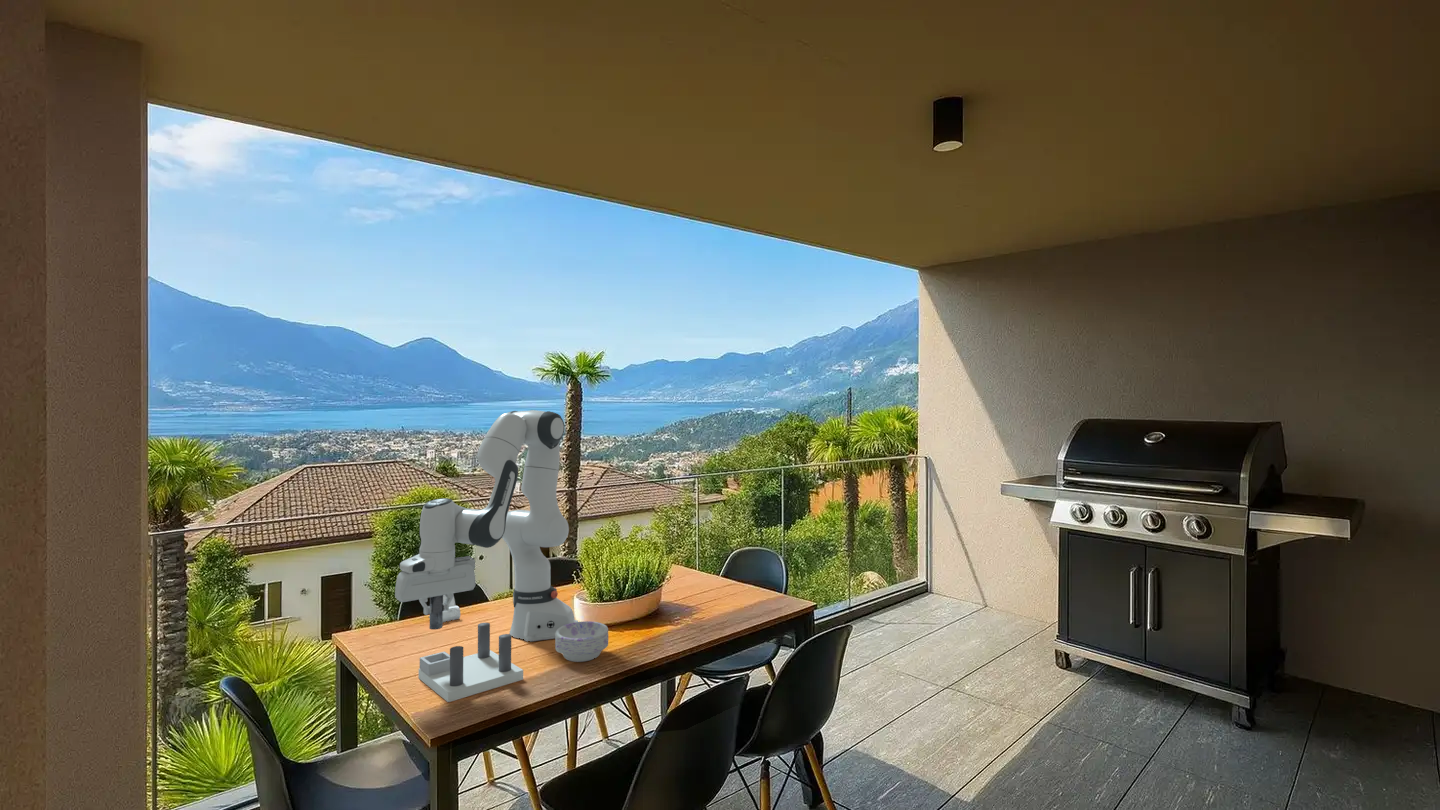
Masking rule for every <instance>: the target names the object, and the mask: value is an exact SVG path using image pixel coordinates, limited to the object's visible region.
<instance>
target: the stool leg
mask: <svg viewBox="0 0 1440 810" xmlns="http://www.w3.org/2000/svg"><path fill="white" fill-rule="evenodd" d="M429 606H430V607H432V610H431V612H432V613H431V614H429V616H430V618H429V627H428V628H429V629H430V630H432V631H433V630H440V629H443V623H444V622H443V595H440V596H435V597H429Z"/></svg>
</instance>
